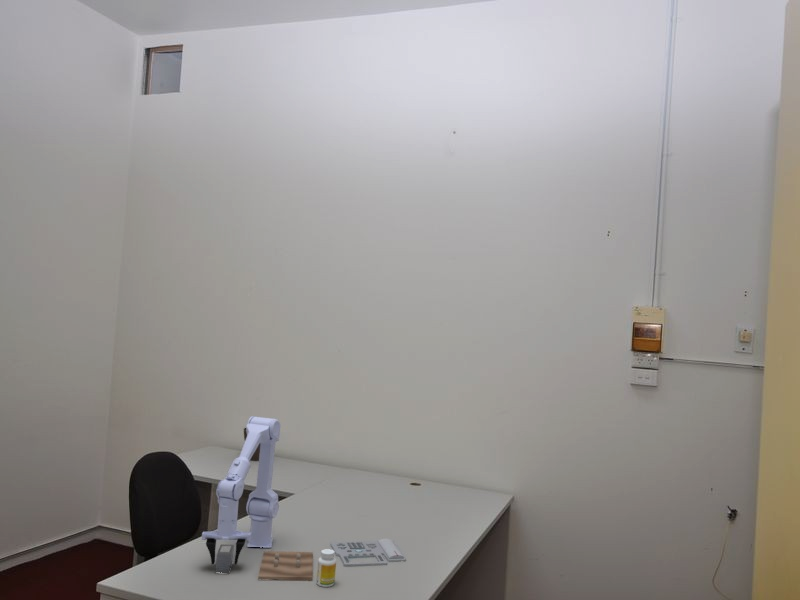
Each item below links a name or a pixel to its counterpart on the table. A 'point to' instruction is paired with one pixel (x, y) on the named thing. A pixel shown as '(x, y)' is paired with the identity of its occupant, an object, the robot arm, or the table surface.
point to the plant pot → (257, 451)
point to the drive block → (224, 558)
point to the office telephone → (368, 552)
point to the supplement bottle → (326, 568)
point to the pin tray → (286, 565)
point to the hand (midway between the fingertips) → (224, 563)
